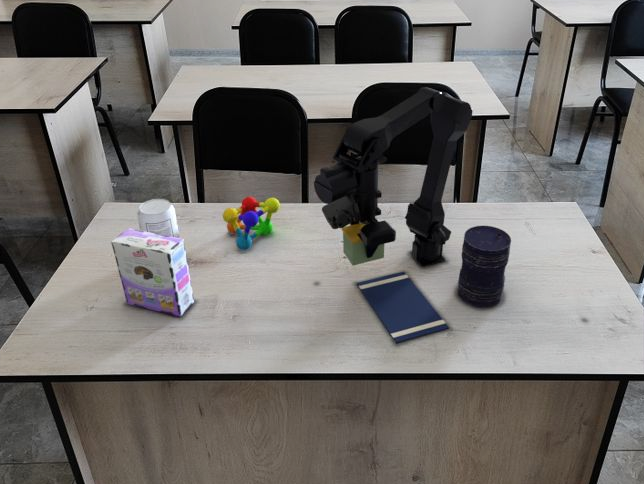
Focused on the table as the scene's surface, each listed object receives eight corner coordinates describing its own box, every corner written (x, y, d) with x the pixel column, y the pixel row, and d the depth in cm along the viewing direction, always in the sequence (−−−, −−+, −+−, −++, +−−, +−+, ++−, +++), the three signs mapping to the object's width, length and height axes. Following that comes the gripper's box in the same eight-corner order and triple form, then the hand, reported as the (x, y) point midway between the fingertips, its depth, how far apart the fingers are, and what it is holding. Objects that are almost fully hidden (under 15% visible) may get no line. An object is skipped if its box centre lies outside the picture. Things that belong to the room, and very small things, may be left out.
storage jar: (471, 312, 128) (479, 254, 121) (448, 286, 136) (454, 230, 128) (511, 302, 132) (521, 245, 124) (486, 276, 139) (494, 221, 132)
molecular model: (221, 231, 156) (247, 180, 155) (261, 253, 156) (288, 202, 155) (204, 236, 141) (234, 179, 140) (249, 260, 141) (279, 204, 140)
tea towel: (404, 272, 141) (404, 271, 141) (448, 328, 124) (449, 327, 124) (356, 284, 137) (356, 282, 137) (396, 343, 120) (396, 342, 120)
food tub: (374, 244, 133) (374, 219, 129) (385, 258, 128) (385, 233, 125) (342, 251, 130) (341, 227, 127) (352, 266, 126) (352, 241, 122)
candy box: (195, 301, 131) (185, 238, 123) (180, 318, 127) (168, 253, 118) (142, 288, 135) (128, 226, 127) (125, 304, 130) (109, 240, 122)
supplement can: (140, 266, 143) (128, 211, 135) (162, 248, 149) (152, 194, 141) (168, 273, 140) (158, 218, 132) (190, 255, 146) (180, 201, 139)
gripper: (310, 173, 125) (313, 236, 133) (343, 216, 111) (344, 284, 119) (359, 163, 129) (359, 225, 137) (398, 204, 114) (395, 270, 122)
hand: (363, 250), depth 129 cm, fingers closed on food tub, 5 cm apart
